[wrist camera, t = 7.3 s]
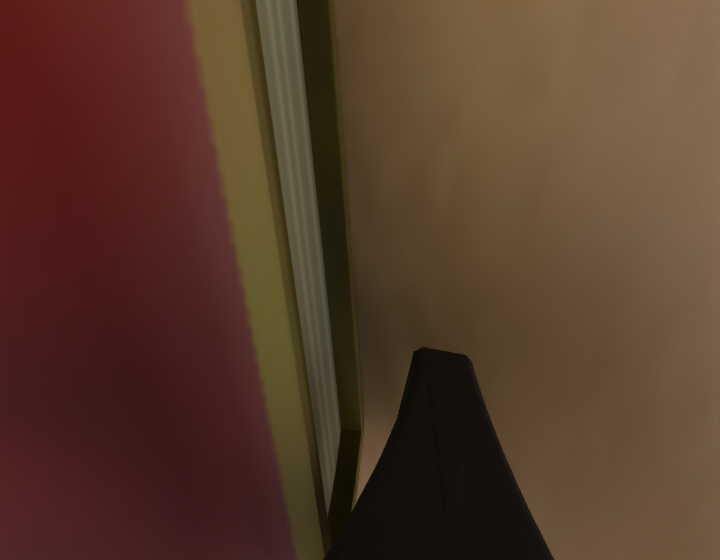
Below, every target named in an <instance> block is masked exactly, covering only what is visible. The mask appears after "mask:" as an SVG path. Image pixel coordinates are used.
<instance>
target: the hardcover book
mask: <svg viewBox="0 0 720 560" xmlns="http://www.w3.org/2000/svg"><path fill="white" fill-rule="evenodd" d="M363 431H364V414H363V400H362V386H361V372H360V359H359V345H358V331H357V317H356V303H355V289H354V276H353V262H352V248H351V234H350V220H349V206H348V193H347V179H346V165H345V151H344V137H343V123H342V109H341V96H340V82H339V68H338V54H337V40H336V26H335V13H334V0H0V560H323V559H324V558H325V556H326V554H327V553H328V551H329V549H330V548H331V546H332V545H333V543H334V541H335V540H336V538H337V536H338V535H339V533H340V531H341V530H342V528H343V526H344V524H345V523H346V521H347V519H348V517H349V516H350V514H351V512H352V510H353V509H354V507H355V503H356V495H357V488H358V480H359V471H360V462H361V454H362V445H363Z"/></svg>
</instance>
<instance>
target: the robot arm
mask: <svg viewBox="0 0 720 560" xmlns="http://www.w3.org/2000/svg"><path fill="white" fill-rule="evenodd" d="M323 560H555V559H554V558H553V556H552V554H551V552H550V550H549V548H548V546H547V544H546V542H545V540H544V538H543V536H542V534H541V532H540V530H539V528H538V526H537V524H536V522H535V520H534V518H533V516H532V514H531V512H530V510H529V508H528V506H527V504H526V502H525V499H524V497H523V495H522V493H521V491H520V489H519V486H518V484H517V482H516V480H515V477H514V475H513V473H512V470H511V468H510V466H509V463H508V461H507V459H506V457H505V454H504V452H503V450H502V447H501V445H500V442H499V440H498V437H497V435H496V432H495V430H494V427H493V424H492V422H491V419H490V416H489V414H488V411H487V408H486V405H485V402H484V400H483V397H482V394H481V391H480V388H479V385H478V381H477V378H476V375H475V372H474V368H473V364H472V362H471V360H470V359H469V358H468V356H467V355H463V354H458V353H452V352H447V351H441V350H436V349H430V348H425V347H422V348H420V349H418V350H416V351H414V353H413V357H412V361H411V365H410V369H409V373H408V377H407V381H406V385H405V389H404V393H403V397H402V401H401V405H400V409H399V413H398V417H397V420H396V422H395V424H394V427H393V429H392V431H391V434H390V436H389V438H388V441H387V443H386V445H385V448H384V450H383V452H382V454H381V457H380V459H379V461H378V463H377V465H376V467H375V469H374V471H373V473H372V474H371V476H370V478H369V480H368V482H367V484H366V486H365V488H364V490H363V492H362V494H361V495H360V497H359V499H358V501H357V503H356V505H355V507H354V509H353V510H352V512H351V514H350V516H349V517H348V519H347V521H346V523H345V524H344V526H343V528H342V530H341V531H340V533H339V535H338V536H337V538H336V540H335V541H334V543H333V545H332V546H331V548H330V549H329V551H328V553H327V554H326V556H325V558H324V559H323Z"/></svg>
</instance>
